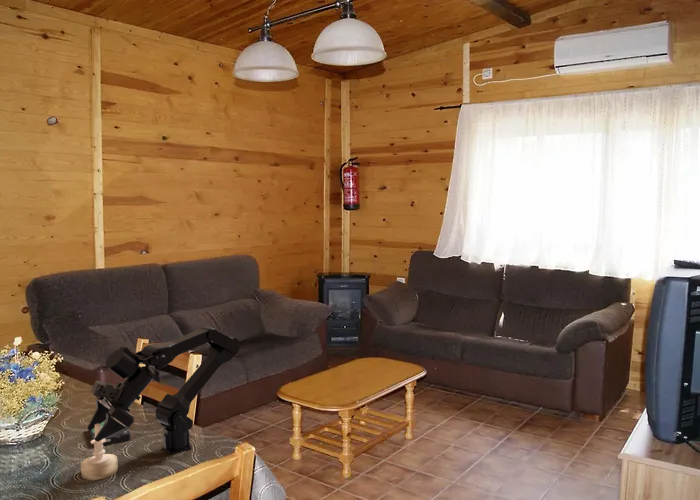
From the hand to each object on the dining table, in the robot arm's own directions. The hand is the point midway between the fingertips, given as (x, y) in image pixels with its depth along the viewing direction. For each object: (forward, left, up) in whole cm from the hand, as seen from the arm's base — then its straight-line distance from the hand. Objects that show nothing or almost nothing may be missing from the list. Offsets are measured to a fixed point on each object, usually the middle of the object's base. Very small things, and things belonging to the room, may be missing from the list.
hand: (92, 434), depth 161 cm
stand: (-1, 0, -11) cm, 11 cm away
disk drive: (-9, -25, -11) cm, 29 cm away
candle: (-2, 0, -8) cm, 8 cm away
